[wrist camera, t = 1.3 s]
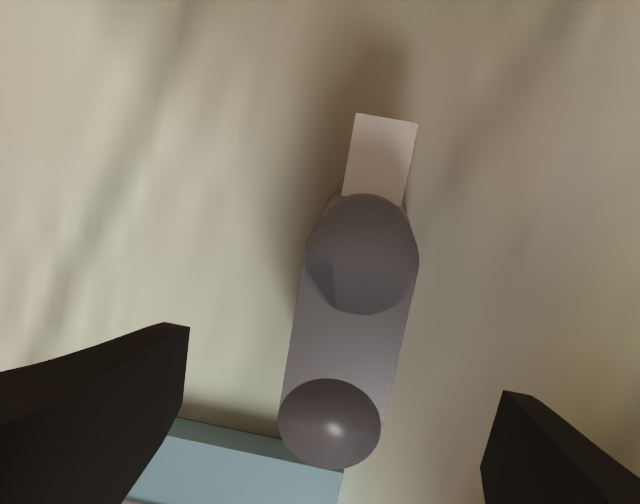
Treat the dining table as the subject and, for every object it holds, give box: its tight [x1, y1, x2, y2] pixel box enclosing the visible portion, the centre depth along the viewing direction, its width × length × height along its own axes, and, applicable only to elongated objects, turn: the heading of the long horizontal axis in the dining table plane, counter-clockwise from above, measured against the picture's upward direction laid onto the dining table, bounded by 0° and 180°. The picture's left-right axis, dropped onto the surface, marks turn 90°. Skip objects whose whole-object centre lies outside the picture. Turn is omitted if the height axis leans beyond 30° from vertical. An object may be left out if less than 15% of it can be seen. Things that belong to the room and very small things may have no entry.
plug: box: [278, 113, 419, 470], centre depth 16 cm, size 3×10×5 cm, turn 170°
